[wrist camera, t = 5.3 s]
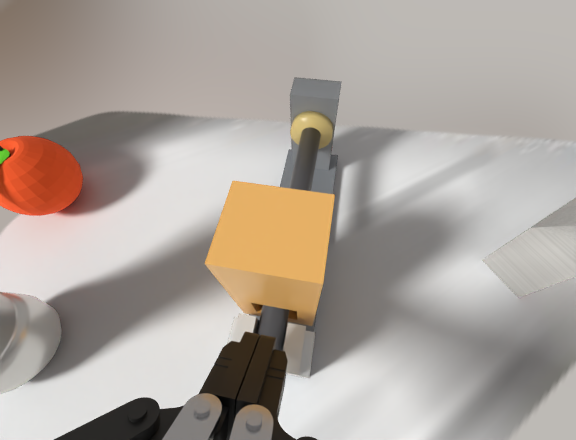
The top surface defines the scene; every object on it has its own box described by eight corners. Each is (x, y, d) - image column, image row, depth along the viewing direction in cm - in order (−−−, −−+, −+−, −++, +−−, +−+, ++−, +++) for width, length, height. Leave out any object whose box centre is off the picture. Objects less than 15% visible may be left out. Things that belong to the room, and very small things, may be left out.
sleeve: (312, 325, 19) (323, 284, 11) (244, 313, 20) (204, 263, 11) (320, 268, 21) (335, 194, 13) (258, 258, 22) (232, 180, 13)
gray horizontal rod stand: (307, 378, 21) (312, 377, 13) (239, 363, 21) (204, 354, 13) (337, 160, 30) (350, 82, 22) (289, 154, 31) (285, 76, 23)
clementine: (72, 243, 27) (2, 201, 20) (3, 234, 27) (-84, 191, 21) (110, 173, 30) (62, 119, 24) (49, 166, 31) (-14, 113, 25)
